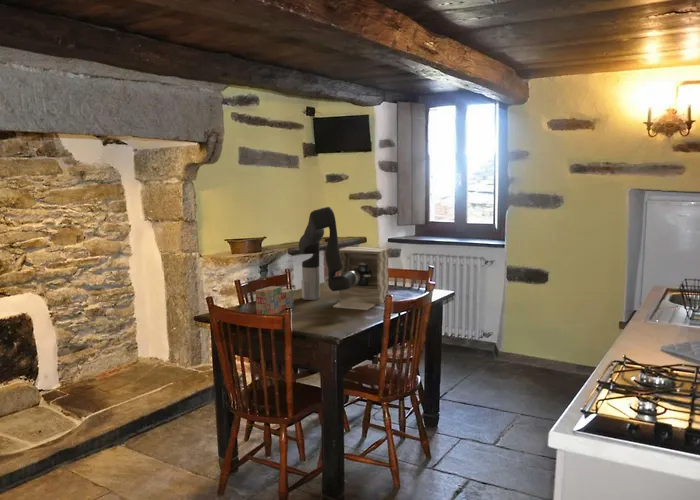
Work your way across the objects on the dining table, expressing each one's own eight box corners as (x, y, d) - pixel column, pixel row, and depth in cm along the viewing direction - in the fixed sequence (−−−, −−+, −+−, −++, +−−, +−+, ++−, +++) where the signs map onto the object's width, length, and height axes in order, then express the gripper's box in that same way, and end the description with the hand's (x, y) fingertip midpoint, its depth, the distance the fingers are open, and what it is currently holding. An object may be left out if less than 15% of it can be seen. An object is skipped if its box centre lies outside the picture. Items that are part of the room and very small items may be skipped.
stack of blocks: (284, 306, 288) (283, 282, 286) (294, 308, 284) (293, 283, 283) (256, 315, 270) (255, 290, 268) (266, 317, 266) (265, 291, 265)
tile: (366, 309, 277) (366, 308, 277) (333, 307, 284) (333, 305, 284) (374, 305, 288) (374, 303, 287) (341, 302, 294) (341, 301, 294)
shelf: (380, 305, 288) (379, 251, 284) (338, 301, 296) (337, 250, 293) (389, 299, 301) (389, 248, 298) (349, 296, 310) (348, 246, 307)
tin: (360, 286, 294) (360, 263, 292) (357, 284, 299) (356, 262, 297) (369, 285, 295) (369, 262, 294) (366, 284, 300) (366, 261, 299)
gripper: (366, 270, 280) (377, 265, 295) (339, 269, 285) (352, 264, 301) (366, 285, 281) (377, 279, 296) (339, 283, 286) (352, 278, 302)
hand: (364, 271), depth 298 cm, fingers closed on tin, 5 cm apart
